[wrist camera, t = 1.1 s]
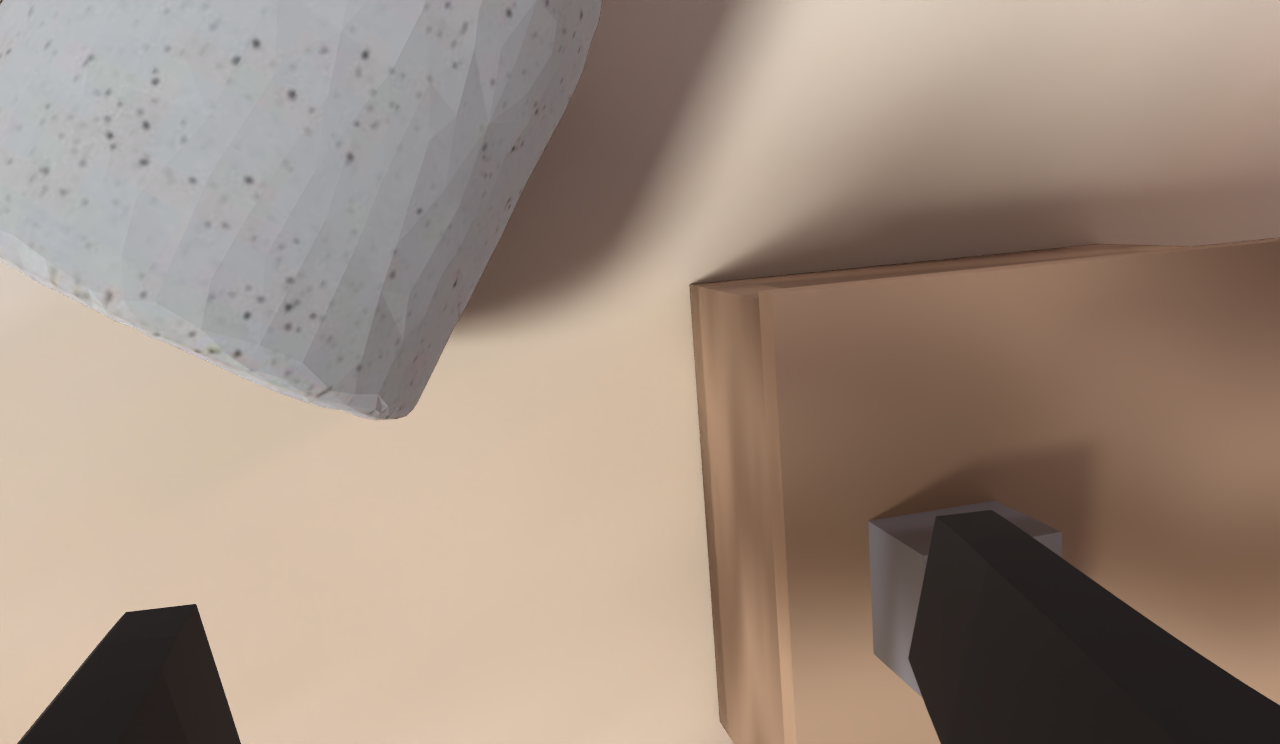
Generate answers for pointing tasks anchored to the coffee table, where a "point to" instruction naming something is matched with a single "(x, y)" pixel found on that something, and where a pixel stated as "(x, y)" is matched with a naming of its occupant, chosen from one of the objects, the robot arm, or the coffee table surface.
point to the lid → (1021, 457)
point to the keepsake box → (767, 474)
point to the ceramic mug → (279, 171)
